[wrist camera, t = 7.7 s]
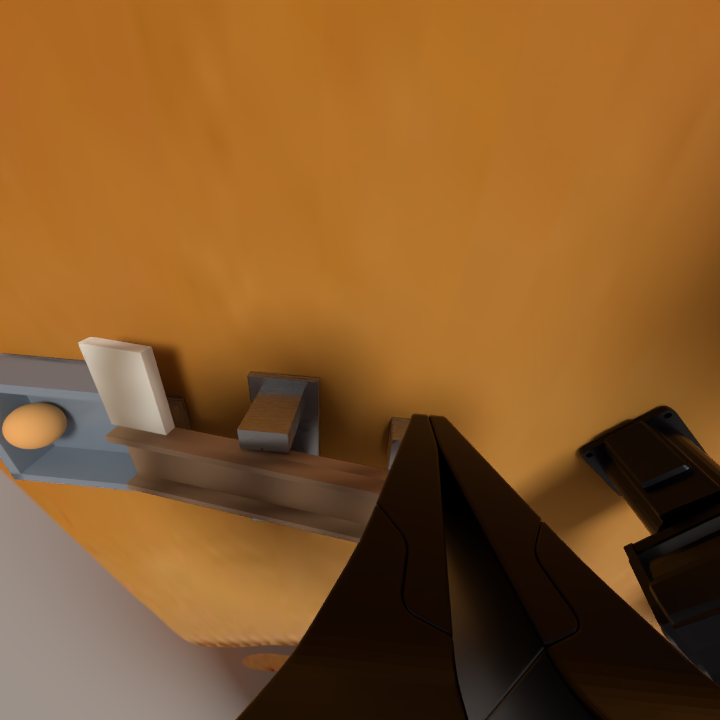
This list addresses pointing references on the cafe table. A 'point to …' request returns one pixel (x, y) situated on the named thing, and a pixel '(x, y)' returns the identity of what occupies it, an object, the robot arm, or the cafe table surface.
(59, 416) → the ball
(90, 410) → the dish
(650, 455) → the robot arm
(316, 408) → the stand
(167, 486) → the lever
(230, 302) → the cafe table surface
